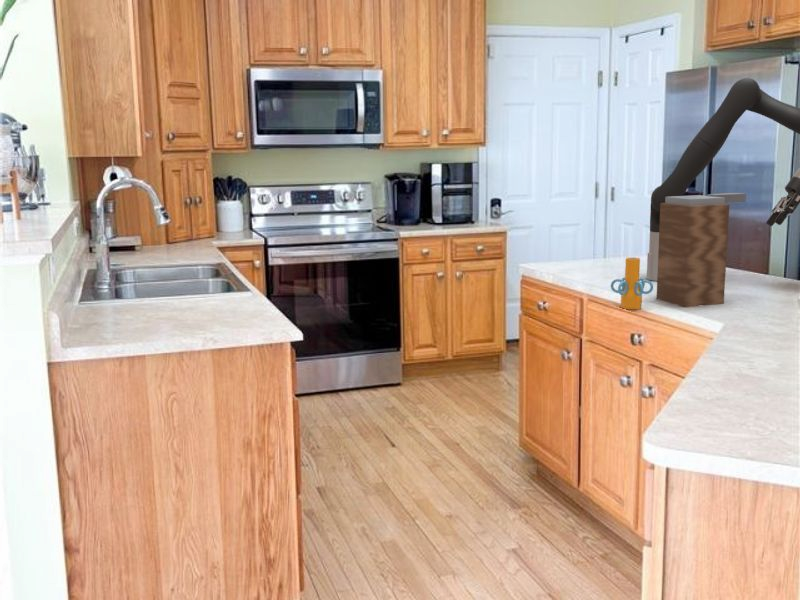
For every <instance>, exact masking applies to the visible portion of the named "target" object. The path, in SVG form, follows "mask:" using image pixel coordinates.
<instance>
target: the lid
mask: <svg viewBox="0 0 800 600" xmlns="http://www.w3.org/2000/svg"><path fill="white" fill-rule="evenodd" d="M746 195H747V194H746V193H745V192H730V193H729V192H727V193H726V192H725V193H724V192H723V193H711V194H710V193H709V194H706V195H703V196H702V195H692V196H672V197H665V203H667V204H675V205H684V206H703V205H722V204H729V203H746V199H747V196H746Z"/></svg>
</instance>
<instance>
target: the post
mask: <svg viewBox="0 0 800 600" xmlns="http://www.w3.org/2000/svg"><path fill="white" fill-rule="evenodd" d="M729 221H730V204H729V203H724V204H722V205H703V206H684V205H675V204H667V203H660V226H659V250H658V273H657V281H656V300H659V301H663V302H666V303H670V304H672V305H675V306H680V307H683V308H690V306H692V307H700V306H699V305H703V306H710V305H711V306H712V304H713V305H721V304H722V305H723V304H724V303H725V287H726V286H725V285H726V271H727V253H728V235H729Z"/></svg>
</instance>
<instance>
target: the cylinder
mask: <svg viewBox="0 0 800 600" xmlns="http://www.w3.org/2000/svg"><path fill="white" fill-rule="evenodd" d="M640 262H641V259H640V257H636V256H635V257H633V256H632V257H631V256H630V257H625V270H624V271H625V273H624V277H622V279H621V278H615V279H613V280H612V282H611V283H610V289H611V291H612V292H614V293H617V294H619V295H620V308H621V309H623V310H631V311H634V310H636V311H637V310H641V309H642V301H643V294H644V295H649V294H650V293H652V292H653V291H654V284H653V282H652V280H647V279H644V278H643V277H640V267H641V266H640V264H641V263H640ZM618 282H619V284H618V287H617V289H616V288H615V287H614V285H615V283H618ZM647 283H648V284H649V286H650V288H649V290H647V291H645V290H644V288H645V284H647Z"/></svg>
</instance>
